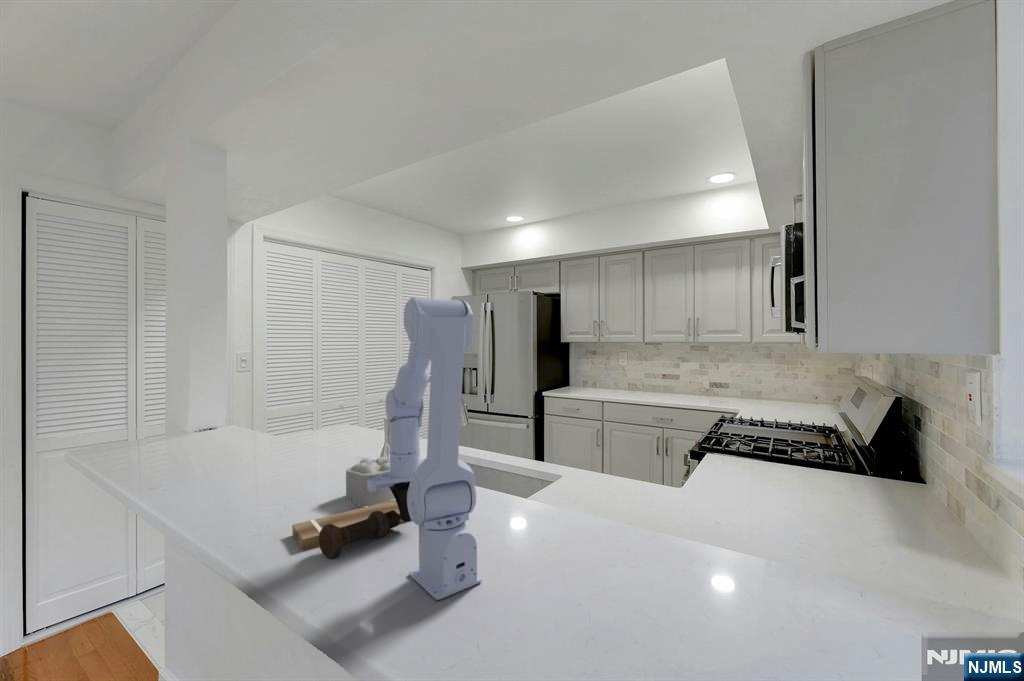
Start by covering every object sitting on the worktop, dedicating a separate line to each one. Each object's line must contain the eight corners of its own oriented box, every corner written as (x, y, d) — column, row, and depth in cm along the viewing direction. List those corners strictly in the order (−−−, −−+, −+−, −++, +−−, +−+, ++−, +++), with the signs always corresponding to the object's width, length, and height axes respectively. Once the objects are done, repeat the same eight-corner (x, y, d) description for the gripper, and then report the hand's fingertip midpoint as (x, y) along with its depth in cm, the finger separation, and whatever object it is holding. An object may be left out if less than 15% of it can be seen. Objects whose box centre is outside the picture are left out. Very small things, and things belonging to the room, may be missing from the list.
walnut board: (424, 516, 93) (424, 506, 93) (303, 550, 78) (302, 538, 78) (408, 505, 100) (407, 496, 100) (292, 535, 85) (292, 524, 85)
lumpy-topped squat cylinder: (340, 500, 103) (340, 463, 103) (383, 484, 114) (383, 451, 114) (369, 509, 98) (368, 470, 98) (412, 492, 109) (412, 457, 109)
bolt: (398, 537, 87) (328, 566, 75) (385, 519, 90) (315, 544, 78) (408, 515, 86) (338, 541, 74) (394, 497, 88) (324, 519, 76)
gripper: (428, 442, 95) (428, 504, 95) (361, 453, 86) (361, 522, 86) (444, 448, 89) (445, 515, 89) (374, 460, 80) (375, 535, 80)
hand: (405, 519), depth 87 cm, fingers closed
